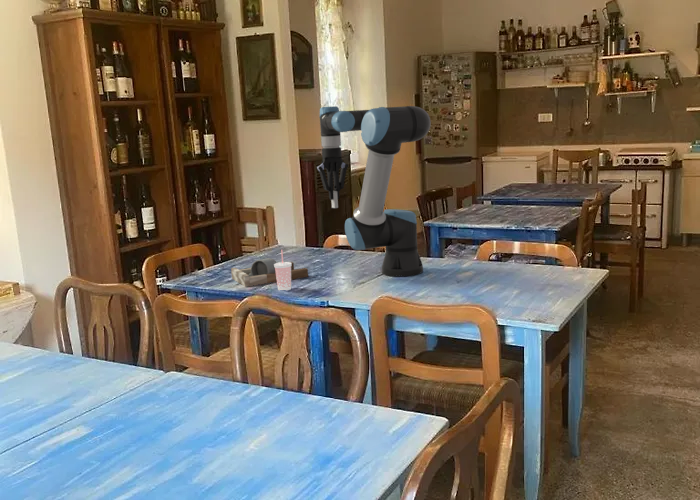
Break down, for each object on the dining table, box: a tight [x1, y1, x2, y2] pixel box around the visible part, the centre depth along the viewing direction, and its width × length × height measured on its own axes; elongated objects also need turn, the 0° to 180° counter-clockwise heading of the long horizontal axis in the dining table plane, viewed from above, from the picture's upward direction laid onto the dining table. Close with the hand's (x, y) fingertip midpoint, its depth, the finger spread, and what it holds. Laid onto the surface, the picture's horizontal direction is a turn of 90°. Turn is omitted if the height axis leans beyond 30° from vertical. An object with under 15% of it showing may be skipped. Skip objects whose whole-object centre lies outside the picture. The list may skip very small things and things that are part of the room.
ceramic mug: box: [249, 257, 277, 277], centre depth 265 cm, size 11×8×8 cm
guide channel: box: [230, 261, 309, 288], centre depth 266 cm, size 16×24×4 cm, turn 116°
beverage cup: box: [274, 249, 292, 291], centre depth 247 cm, size 6×6×14 cm
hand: (334, 207), depth 281 cm, fingers closed
